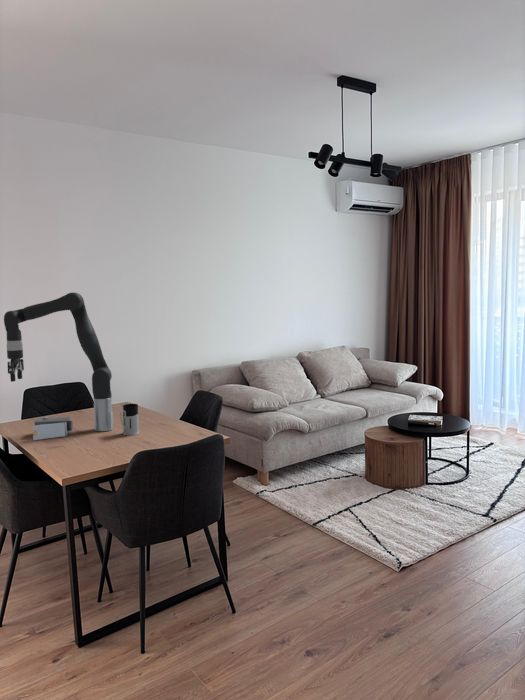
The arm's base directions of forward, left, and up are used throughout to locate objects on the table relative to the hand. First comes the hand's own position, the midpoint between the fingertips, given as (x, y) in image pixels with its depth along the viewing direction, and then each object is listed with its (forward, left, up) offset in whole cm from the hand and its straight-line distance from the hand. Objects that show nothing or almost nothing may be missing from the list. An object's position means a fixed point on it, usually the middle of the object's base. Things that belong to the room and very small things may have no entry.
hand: (16, 380), depth 285 cm
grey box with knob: (-19, +7, -28) cm, 34 cm away
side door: (-20, +16, -27) cm, 38 cm away
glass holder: (-58, +12, -28) cm, 66 cm away
